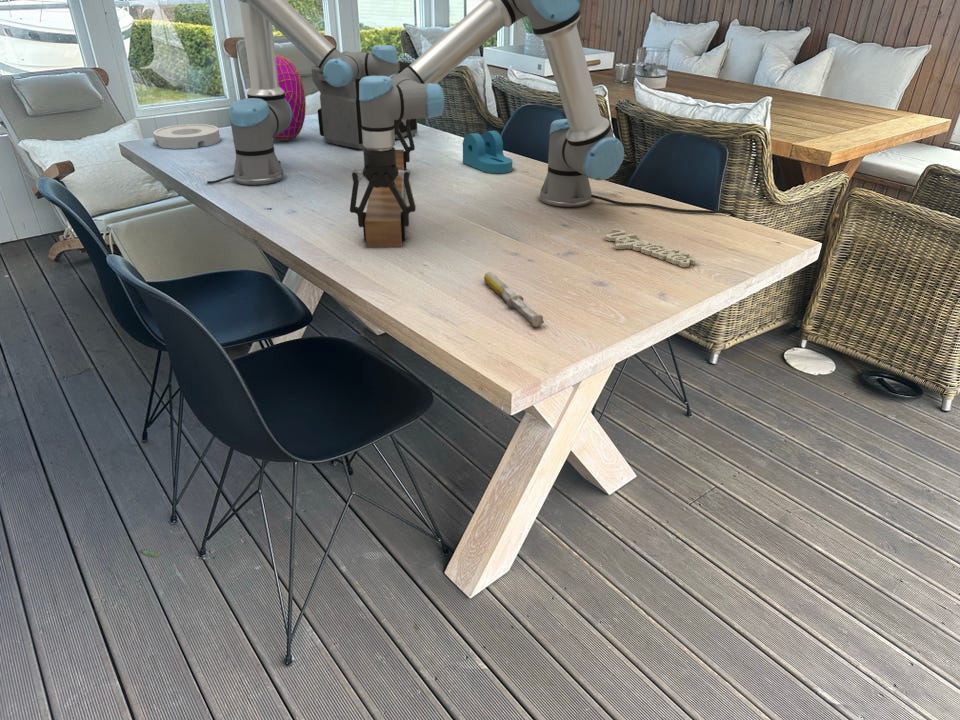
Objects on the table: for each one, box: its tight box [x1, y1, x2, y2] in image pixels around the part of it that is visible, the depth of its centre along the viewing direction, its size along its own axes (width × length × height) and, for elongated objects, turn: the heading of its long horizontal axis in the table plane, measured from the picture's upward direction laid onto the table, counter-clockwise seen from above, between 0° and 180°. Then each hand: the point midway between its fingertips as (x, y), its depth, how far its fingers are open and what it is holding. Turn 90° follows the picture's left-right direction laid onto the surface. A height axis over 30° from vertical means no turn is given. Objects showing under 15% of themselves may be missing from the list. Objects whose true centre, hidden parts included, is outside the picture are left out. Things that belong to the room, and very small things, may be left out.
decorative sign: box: [605, 228, 696, 268], centre depth 169 cm, size 26×1×10 cm
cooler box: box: [311, 51, 418, 151], centre depth 260 cm, size 37×22×30 cm, turn 144°
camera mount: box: [462, 130, 513, 174], centre depth 231 cm, size 18×10×10 cm, turn 35°
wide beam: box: [365, 149, 405, 248], centre depth 198 cm, size 71×9×7 cm, turn 5°
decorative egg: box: [273, 54, 307, 142], centre depth 257 cm, size 19×19×30 cm
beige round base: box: [152, 123, 221, 150], centre depth 260 cm, size 23×23×4 cm
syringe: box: [483, 271, 545, 328], centre depth 142 cm, size 25×4×3 cm, turn 21°
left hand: (391, 172), depth 226 cm, fingers closed on wide beam, 9 cm apart
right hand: (384, 238), depth 173 cm, fingers closed on wide beam, 9 cm apart
